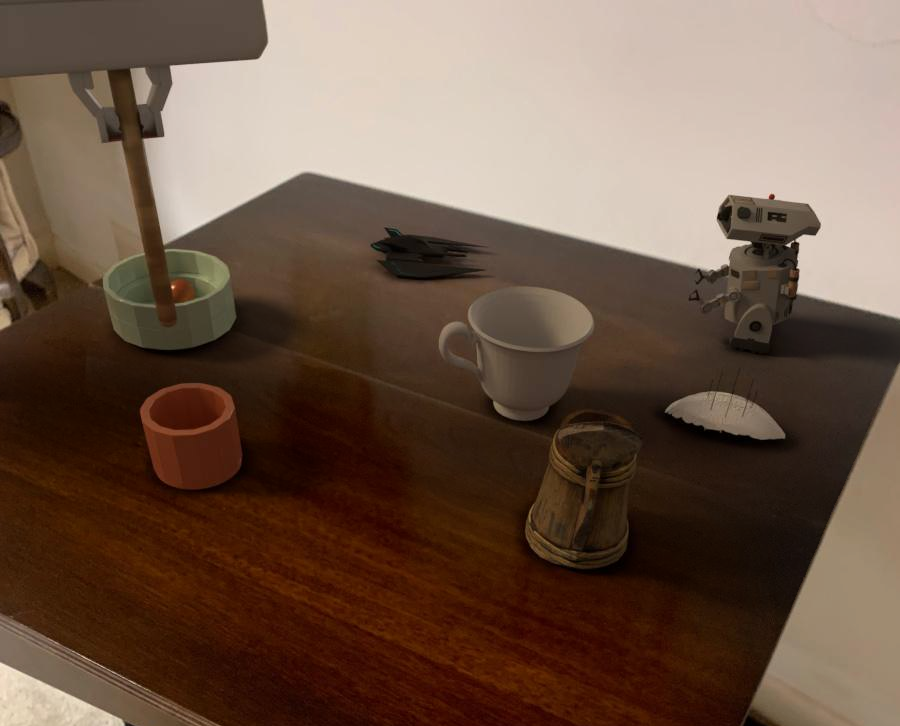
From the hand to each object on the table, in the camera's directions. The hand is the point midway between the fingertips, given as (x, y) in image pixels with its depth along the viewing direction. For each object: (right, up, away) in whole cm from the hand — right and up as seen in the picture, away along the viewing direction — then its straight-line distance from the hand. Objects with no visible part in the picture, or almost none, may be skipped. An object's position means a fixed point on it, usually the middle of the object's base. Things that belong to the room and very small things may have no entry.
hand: (131, 137), depth 62 cm
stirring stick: (-1, -10, +11) cm, 14 cm away
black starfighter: (+20, +11, +51) cm, 55 cm away
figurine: (+55, -1, +41) cm, 69 cm away
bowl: (-8, -1, +37) cm, 38 cm away
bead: (-8, +2, +38) cm, 39 cm away
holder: (-1, -20, +20) cm, 28 cm away
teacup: (+28, -13, +29) cm, 42 cm away
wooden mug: (+33, -29, +14) cm, 46 cm away
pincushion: (+50, -15, +28) cm, 59 cm away
